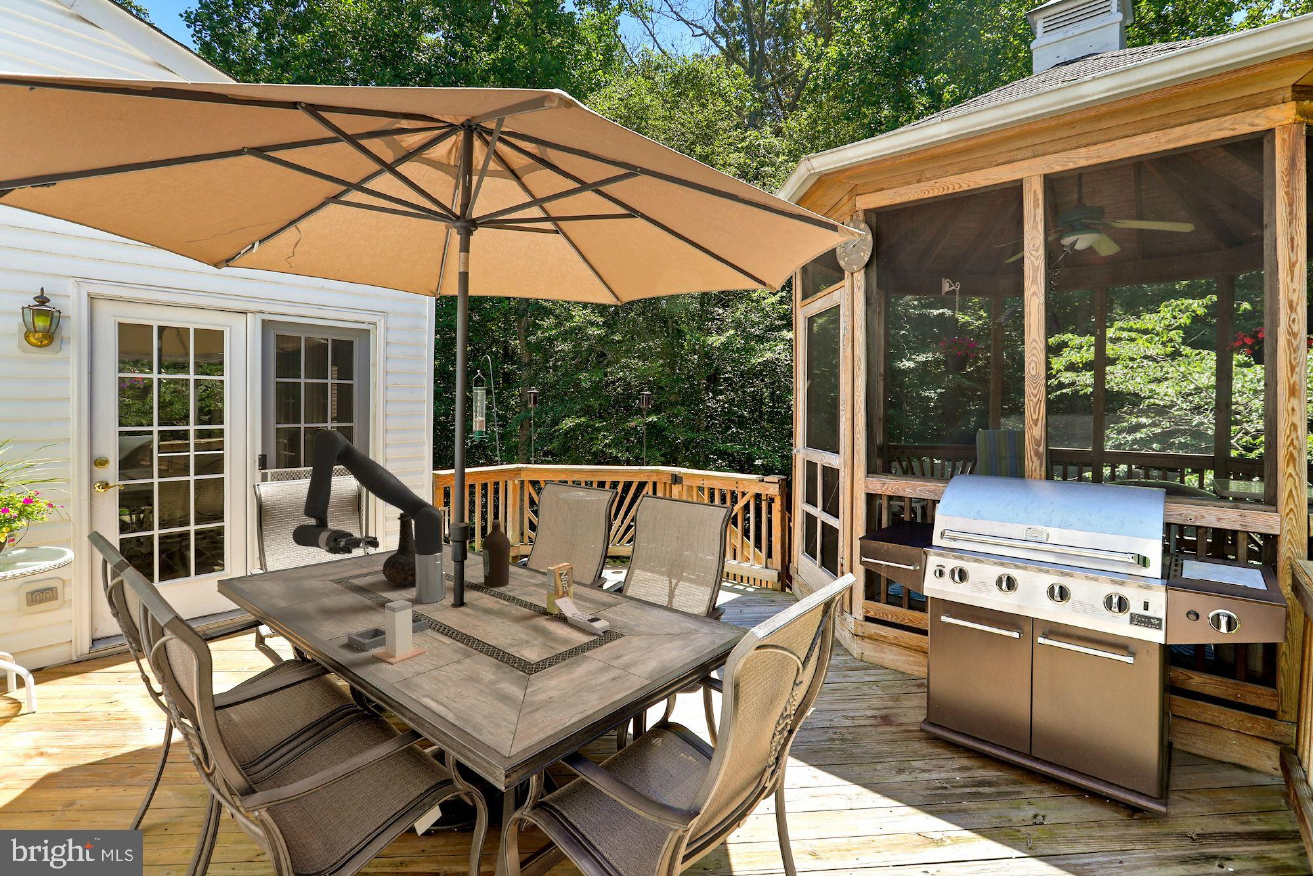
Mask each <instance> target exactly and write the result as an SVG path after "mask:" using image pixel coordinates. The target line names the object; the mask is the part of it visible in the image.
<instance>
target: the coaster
mask: <svg viewBox="0 0 1313 876" xmlns="http://www.w3.org/2000/svg"><path fill="white" fill-rule="evenodd" d="M425 652H427V650H425V649H423V648H419V647H417V646H415V645H412V652H410V653H407V654H404V655H401V656H399V657H394V656H392V655H389V654H387V653H386V648H385V649H383V650H380V651H377V652H374V653H372V656H373V657H375V656H376V658H377V657H378V659H381V660H383V661H384V660H385V661H384V662H387V663H388V664H392V665H396V664H398V663H401V662H404V661H406V660H410V659H412V658H414V656H415V657H417V656H420V655H423V654H426V653H425ZM403 660H404V661H403Z"/></svg>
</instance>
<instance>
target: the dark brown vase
mask: <svg viewBox="0 0 1313 876" xmlns="http://www.w3.org/2000/svg"><path fill="white" fill-rule="evenodd" d="M397 520H398V521H399V537H398V545H397V549H396V552H395V553H393V554H391V555H390V556H387V558H386V559H385V561H384V562H383V565H382V574H383V576H384V578H385V579H386V580H387V581H388V582H389V583H390V584H392V585H393V586H396V587H397V586H398V587H412V586H416V565H415V544H414V527H413V520H412V519H411V518H410V517H409V516H408V515H407V514H406V513H404V512H403V511H402V512H400V513H399V517H397Z"/></svg>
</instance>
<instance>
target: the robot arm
mask: <svg viewBox="0 0 1313 876" xmlns="http://www.w3.org/2000/svg"><path fill="white" fill-rule="evenodd" d="M312 442H313V443H312V445H313V446H312V447H313V448H312V452H313V453H312V455H313V456H312V470H311V475H310V476H311V477H310V480H309V485H308V490H307V494H306V497H305V503H304V508H303V515H304V516H305V517H307V518H309V519H310V518H311V519H313V520H315V524H306V523H305V524H299V525H298V526H296V527H295V528H294V529H293V531H292V536H291V537H292V540H293V542H294V544H296V545H297V546H300V547H309V548H317V549H320V550H324V551H325V553H329V554H331V555H341V556H342V555H343V556H344V555H350V554H351V555H352V554H353V551H354V550H360V549H361V550H363V549H366V548H374V549H379V547H380V542H379V541H378V537H377V536H372V535H371V536H370V535H364V536H362V537H361V536H358V537H357V536H355V535H354V534H353V533H352V532H351V531H348V530H344V529H339V528H331V527H329V522H328V521H329V519H328V510H329V506H330V500H331V493H332V480H333V472H334V467H335V463H338V465H341V466H343V468H345V469H346V470H347V471H348V472H349V473H350V474H351V476H353V477H354V478H355V479H356V481H357V482H358V483H359V484H360V485H361V486H362V487H363V488H365V490H367V491H368V492H370V493H371V494H372V495H373V496H374V497H376V498H378V499H380V501H383V502H384V503H386V504H388V505H391V506H392V507H395V508H397V509H399V510H400V511H401V512H402V513H403V512H404V513H406V514H407V515H408V516H409V517H410V518H411V519H412V522H413V535H414V544H415V565H416V585H415V602H416V603H419V604H433V602H434V603H437V602H436V601H438V602H441V601H442V600H443V599H445V598H444V597H446V596H447V595H446V593H447V592H446V591H447V590H446V588H447V587H446V572H445V571H444V558H443V557H444V556H443V555H444V554H443V551H444V550H443V548H444V547H443V519H444V518H443V514H442V512H441V510H439V509H438V508H437V507H435V506H434V505H432V504H431V503H429V502H427V501H426V500H424V499H423V498H421V497H420V496H418V495H417V494H415V492H413V490H411V489H410V488H409V487H408V486H407V485H406V484H405V483H404V482H402V480H400V479H399V478H397V477H396V476H395V475H394V474H393V473H391V472H390V471H389V470H388V469H386V468H385V467H383V466H382V465H381V464H380V463H378V462H376V461H375V460H373V459H372V458H370V457H368V456H367V455H366V454H365V453H363V452H361V451H360V450H358V449H357V447H355V446H354V445H353V444H352V443H351V442H350V441H349V440H348V438H346V436H344V435H343V434H342V433H341V432H340V431H338V430H335V429H324V430H321V431H319V432H317V433H316V434H315V436H314V438H313V441H312ZM446 598H447V597H446ZM441 599H442V600H441Z"/></svg>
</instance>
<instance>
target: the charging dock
mask: <svg viewBox="0 0 1313 876" xmlns="http://www.w3.org/2000/svg"><path fill="white" fill-rule="evenodd" d="M427 628H428V629H429V620H426V619H423V618H420V617H417V616H412V633H414V634H417V633H419V632H418V631H420V632H422V631H421V630H423V631H425V630H424V629H426V630H428V629H427ZM416 632H417V633H416ZM375 636H376V637H375ZM377 636H378V637H377ZM371 637H373V638H371ZM369 638H370V639H369ZM365 639H367V640H365ZM348 643H349V644H350V646H352V645H353V646H352V647H354V646H356V647H357V649H359V648H360V649H359V650H361V649H362V651H363V650H365V651H366V650H369V651H371V650H373V649H372V648H374V649H377V648H379V647H378V646H380V647H383V646H386V628H384V627H381V626H379V625H378V626H375V627H371V628H368V629H365V630H364V629H363V630H361V631H358V632H355V633H352V634H351V633H350V634H348V635H347V644H348ZM349 644H348V645H349ZM382 645H383V646H382ZM356 647H355V648H356ZM376 647H377V648H376ZM370 649H371V650H370ZM365 651H364V652H365ZM366 652H367V651H366Z"/></svg>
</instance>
